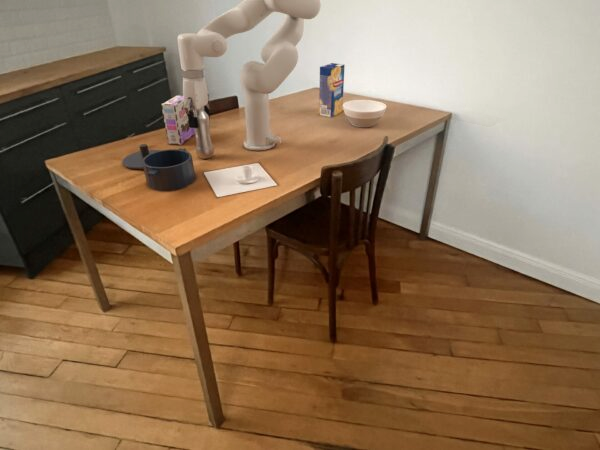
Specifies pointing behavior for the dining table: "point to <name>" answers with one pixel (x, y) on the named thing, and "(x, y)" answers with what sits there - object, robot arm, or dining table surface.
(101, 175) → the dining table surface
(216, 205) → the dining table surface
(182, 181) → the dark blue cooking pot
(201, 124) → the metal water bottle
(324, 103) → the blue cardboard box
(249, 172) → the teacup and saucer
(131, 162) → the lid
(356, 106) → the bowl
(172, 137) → the candy box
